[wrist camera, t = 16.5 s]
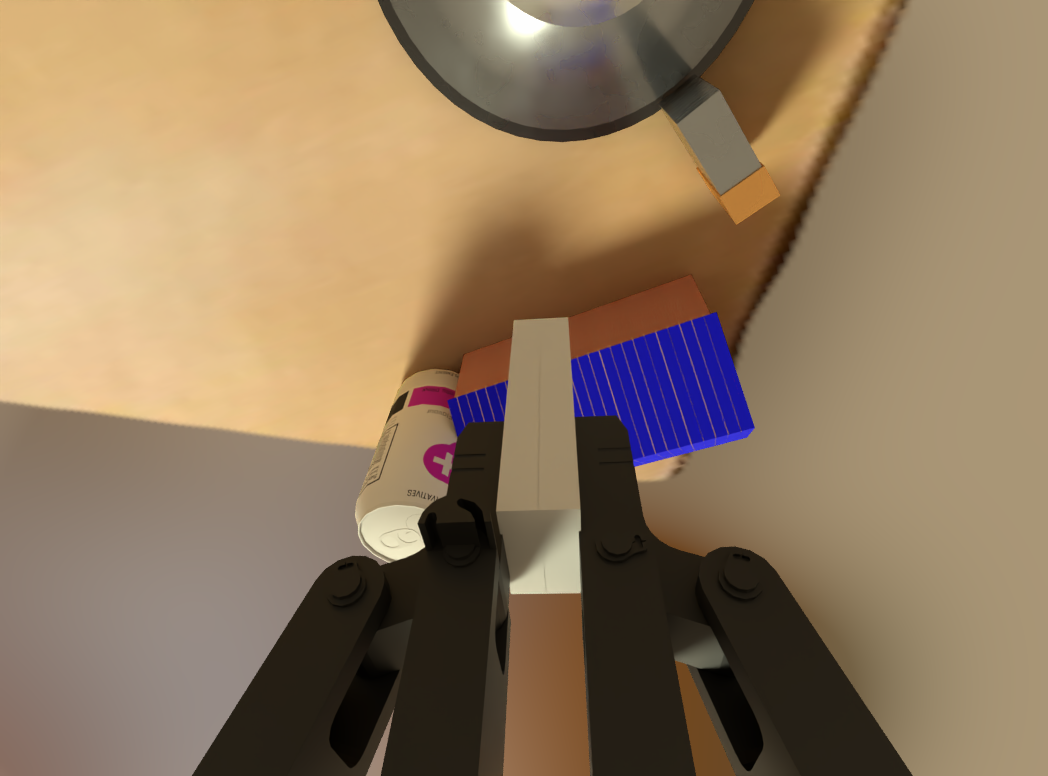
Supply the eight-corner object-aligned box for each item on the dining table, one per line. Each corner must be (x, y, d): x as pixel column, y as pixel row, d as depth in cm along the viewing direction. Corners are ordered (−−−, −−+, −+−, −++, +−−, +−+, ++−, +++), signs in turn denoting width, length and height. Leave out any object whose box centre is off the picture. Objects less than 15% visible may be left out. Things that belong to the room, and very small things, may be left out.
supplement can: (459, 351, 44) (426, 485, 33) (503, 418, 49) (488, 557, 37) (380, 382, 47) (323, 517, 35) (429, 443, 51) (393, 582, 39)
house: (459, 351, 45) (435, 447, 36) (694, 267, 39) (738, 355, 30) (516, 445, 51) (508, 546, 42) (724, 385, 46) (768, 486, 37)
